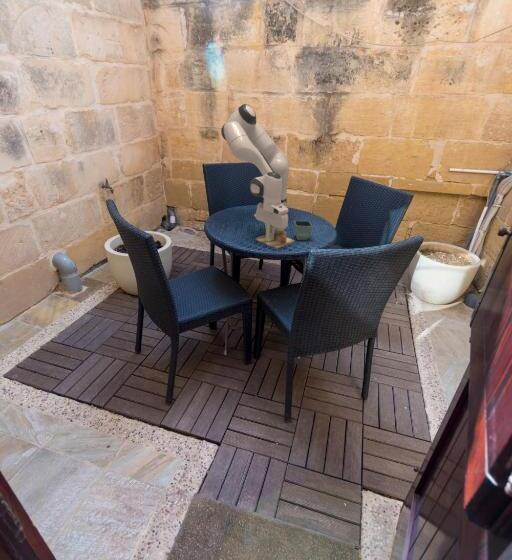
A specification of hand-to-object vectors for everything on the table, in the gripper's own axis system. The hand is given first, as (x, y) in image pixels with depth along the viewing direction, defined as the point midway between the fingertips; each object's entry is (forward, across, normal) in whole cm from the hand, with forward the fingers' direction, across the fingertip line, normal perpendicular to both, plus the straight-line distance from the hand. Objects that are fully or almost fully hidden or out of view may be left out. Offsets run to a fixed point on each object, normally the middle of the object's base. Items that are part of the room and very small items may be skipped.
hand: (270, 232), depth 168 cm
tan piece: (+6, 0, +4) cm, 7 cm away
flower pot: (+6, +7, +18) cm, 20 cm away
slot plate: (+5, 0, +4) cm, 6 cm away
